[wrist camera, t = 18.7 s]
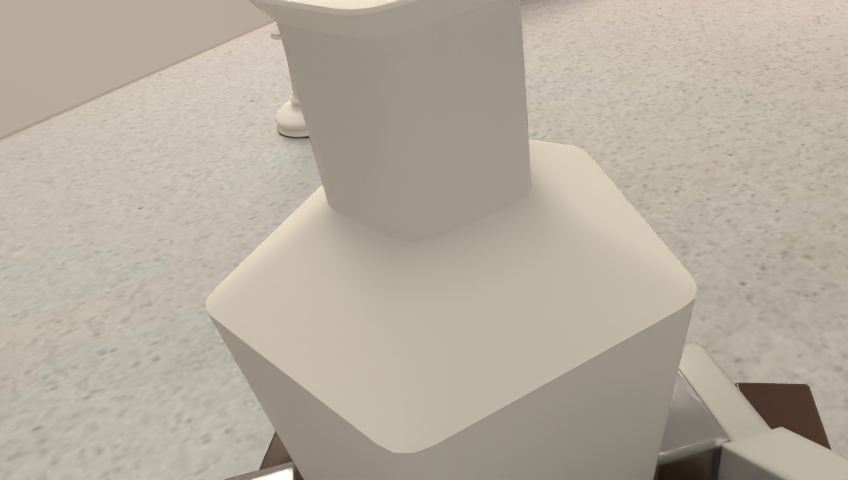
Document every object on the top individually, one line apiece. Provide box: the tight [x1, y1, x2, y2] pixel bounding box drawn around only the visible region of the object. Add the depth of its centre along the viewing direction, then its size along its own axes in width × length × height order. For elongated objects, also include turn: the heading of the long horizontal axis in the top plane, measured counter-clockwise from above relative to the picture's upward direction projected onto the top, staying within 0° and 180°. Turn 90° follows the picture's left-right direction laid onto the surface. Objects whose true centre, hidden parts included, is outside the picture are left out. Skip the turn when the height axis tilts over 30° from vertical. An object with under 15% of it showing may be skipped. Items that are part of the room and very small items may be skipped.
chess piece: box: [270, 21, 309, 137], centre depth 38 cm, size 5×5×10 cm
